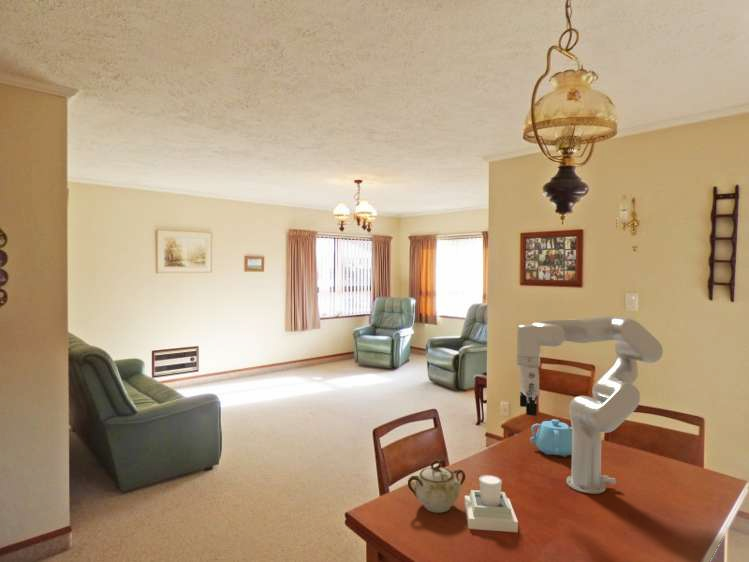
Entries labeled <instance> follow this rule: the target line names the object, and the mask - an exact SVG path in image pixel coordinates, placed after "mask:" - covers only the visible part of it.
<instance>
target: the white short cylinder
mask: <svg viewBox="0 0 749 562" xmlns="http://www.w3.org/2000/svg"><path fill="white" fill-rule="evenodd" d="M478 481H479V482H478V483H479V491H480V496H481V502H482V504H484V505H486V506H493V507H496V506H498V505H499V504H500V495H501V492H502V483H503V480H502V479H501V478H500V477H498V476H495V475H494V474H493V475H491V474H484V475H481V476H479V478H478Z"/></svg>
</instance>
